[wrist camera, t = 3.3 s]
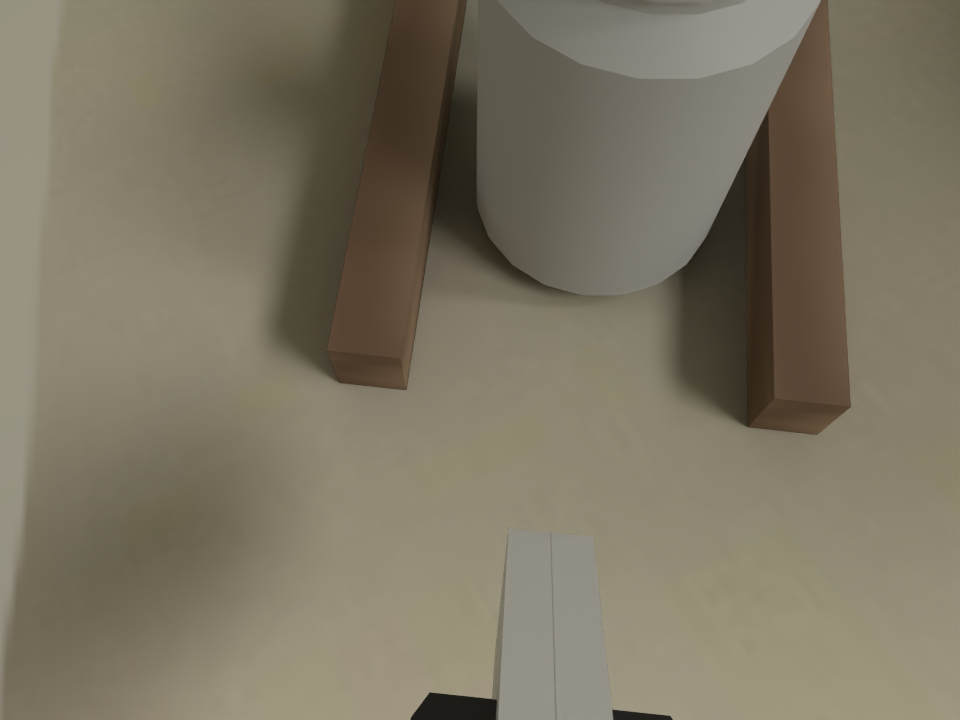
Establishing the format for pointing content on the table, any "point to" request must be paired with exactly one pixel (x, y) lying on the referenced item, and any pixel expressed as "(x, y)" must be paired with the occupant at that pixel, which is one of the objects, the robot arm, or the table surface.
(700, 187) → the can
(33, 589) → the table surface
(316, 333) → the table surface
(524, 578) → the robot arm
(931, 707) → the table surface
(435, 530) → the table surface
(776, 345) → the chute
